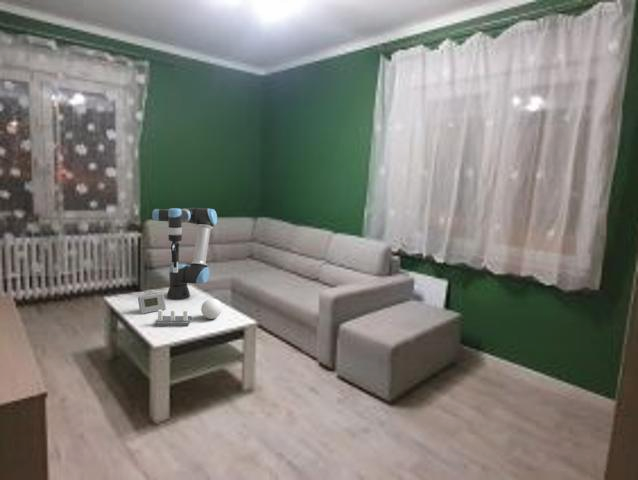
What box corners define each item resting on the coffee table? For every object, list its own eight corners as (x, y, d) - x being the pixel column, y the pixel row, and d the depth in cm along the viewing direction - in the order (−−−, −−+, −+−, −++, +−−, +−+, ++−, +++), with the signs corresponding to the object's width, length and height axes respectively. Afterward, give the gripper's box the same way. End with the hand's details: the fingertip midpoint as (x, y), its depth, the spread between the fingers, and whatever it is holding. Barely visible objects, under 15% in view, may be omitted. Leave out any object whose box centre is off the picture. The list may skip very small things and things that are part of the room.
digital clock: (139, 315, 253) (139, 298, 251) (137, 310, 260) (136, 294, 259) (167, 311, 261) (167, 295, 260) (164, 307, 269) (164, 291, 267)
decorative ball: (225, 317, 256) (225, 298, 254) (212, 323, 245) (212, 303, 243) (210, 313, 261) (210, 295, 259) (197, 319, 250) (197, 300, 248)
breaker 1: (159, 319, 240) (158, 309, 239) (162, 319, 240) (162, 309, 240) (157, 321, 238) (157, 311, 237) (161, 321, 238) (161, 311, 237)
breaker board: (160, 319, 248) (160, 315, 247) (191, 319, 250) (191, 315, 250) (155, 326, 236) (155, 323, 236) (188, 326, 238) (188, 323, 238)
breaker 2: (184, 319, 242) (184, 309, 241) (187, 319, 242) (187, 309, 241) (183, 321, 240) (183, 311, 239) (186, 321, 240) (186, 311, 239)
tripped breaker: (171, 319, 241) (171, 309, 240) (175, 319, 242) (175, 309, 241) (170, 321, 239) (170, 311, 238) (174, 321, 239) (174, 311, 238)
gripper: (170, 232, 256) (171, 269, 260) (166, 235, 243) (166, 274, 247) (183, 232, 257) (183, 269, 261) (179, 235, 244) (179, 274, 248)
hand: (175, 272), depth 254 cm, fingers closed
